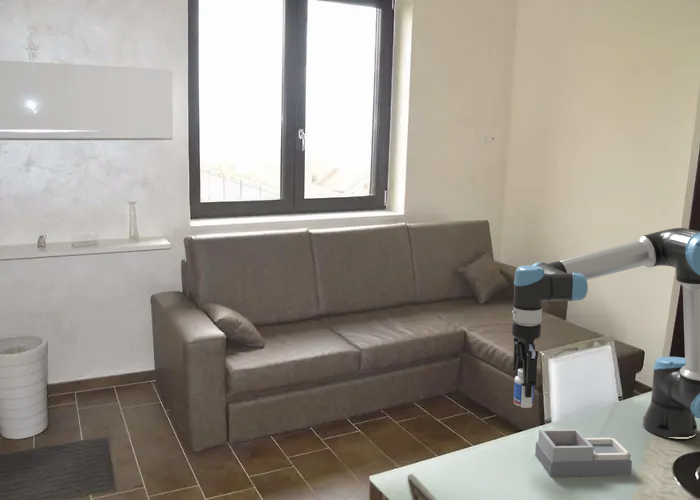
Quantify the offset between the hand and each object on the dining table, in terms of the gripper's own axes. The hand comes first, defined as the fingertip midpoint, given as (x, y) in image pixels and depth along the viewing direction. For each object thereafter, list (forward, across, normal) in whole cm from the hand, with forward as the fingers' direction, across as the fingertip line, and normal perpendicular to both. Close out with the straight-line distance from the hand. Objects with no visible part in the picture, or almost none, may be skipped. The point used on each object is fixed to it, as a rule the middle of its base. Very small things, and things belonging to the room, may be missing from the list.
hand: (522, 402), depth 177 cm
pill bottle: (+1, 0, 0) cm, 1 cm away
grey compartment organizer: (+17, +5, +16) cm, 23 cm away
